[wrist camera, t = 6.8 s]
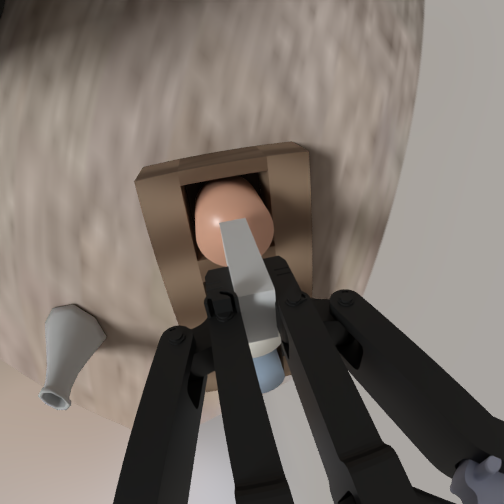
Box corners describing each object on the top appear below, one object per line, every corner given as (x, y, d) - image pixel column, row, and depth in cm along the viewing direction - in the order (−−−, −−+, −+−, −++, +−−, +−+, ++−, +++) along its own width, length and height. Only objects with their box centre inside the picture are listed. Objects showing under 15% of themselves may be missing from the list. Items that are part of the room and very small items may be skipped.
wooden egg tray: (143, 167, 22) (134, 181, 19) (291, 141, 23) (308, 151, 20) (203, 365, 35) (206, 392, 31) (300, 345, 36) (309, 370, 32)
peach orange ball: (189, 181, 22) (188, 204, 18) (254, 169, 22) (270, 190, 18) (201, 239, 25) (204, 273, 20) (261, 227, 25) (276, 259, 21)
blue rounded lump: (223, 333, 30) (230, 371, 26) (271, 323, 31) (283, 359, 26) (231, 362, 33) (238, 398, 29) (274, 353, 33) (285, 388, 29)
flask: (73, 292, 27) (43, 368, 18) (117, 337, 30) (105, 413, 22) (36, 318, 27) (8, 386, 19) (78, 357, 31) (62, 425, 22)
